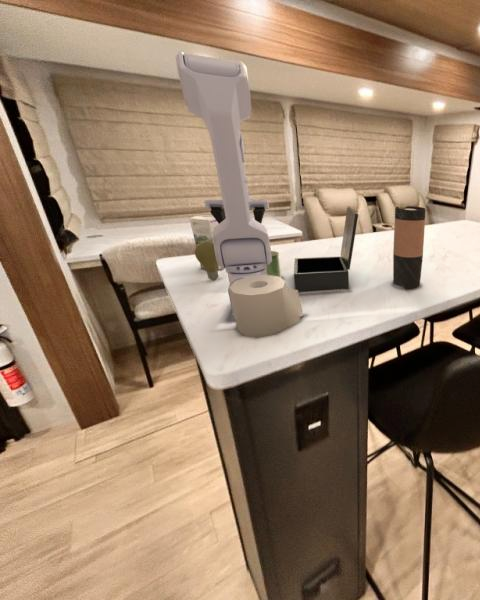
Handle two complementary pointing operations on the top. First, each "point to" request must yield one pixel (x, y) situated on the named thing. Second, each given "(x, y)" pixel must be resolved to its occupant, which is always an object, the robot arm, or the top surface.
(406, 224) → the travel mug
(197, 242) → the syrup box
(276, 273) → the green pot
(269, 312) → the toilet tissue
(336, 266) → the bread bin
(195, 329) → the top surface
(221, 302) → the top surface
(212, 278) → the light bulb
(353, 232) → the bin lid
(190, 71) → the robot arm
